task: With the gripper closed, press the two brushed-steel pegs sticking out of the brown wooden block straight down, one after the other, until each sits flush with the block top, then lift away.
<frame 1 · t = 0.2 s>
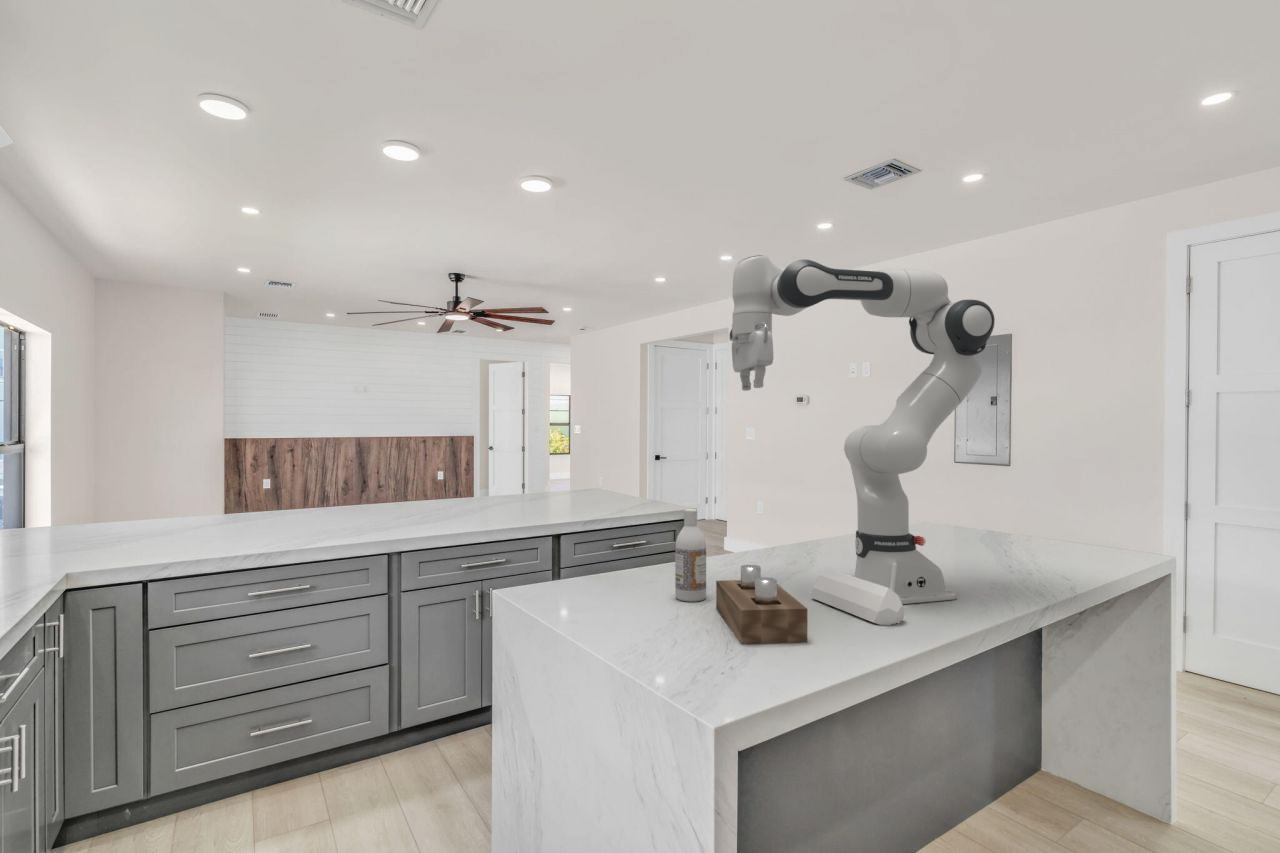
hand: (752, 389, 143), 47 cm above the table, tool pointing down, fingers open, 8 cm apart
crystal: (854, 611, 133), on the table
brown wooden block: (758, 624, 123), on the table
peg a: (750, 580, 129), point 7 cm above the table, slide at 4.0 cm
peg b: (765, 594, 118), point 7 cm above the table, slide at 4.0 cm
bath foam: (690, 599, 142), on the table
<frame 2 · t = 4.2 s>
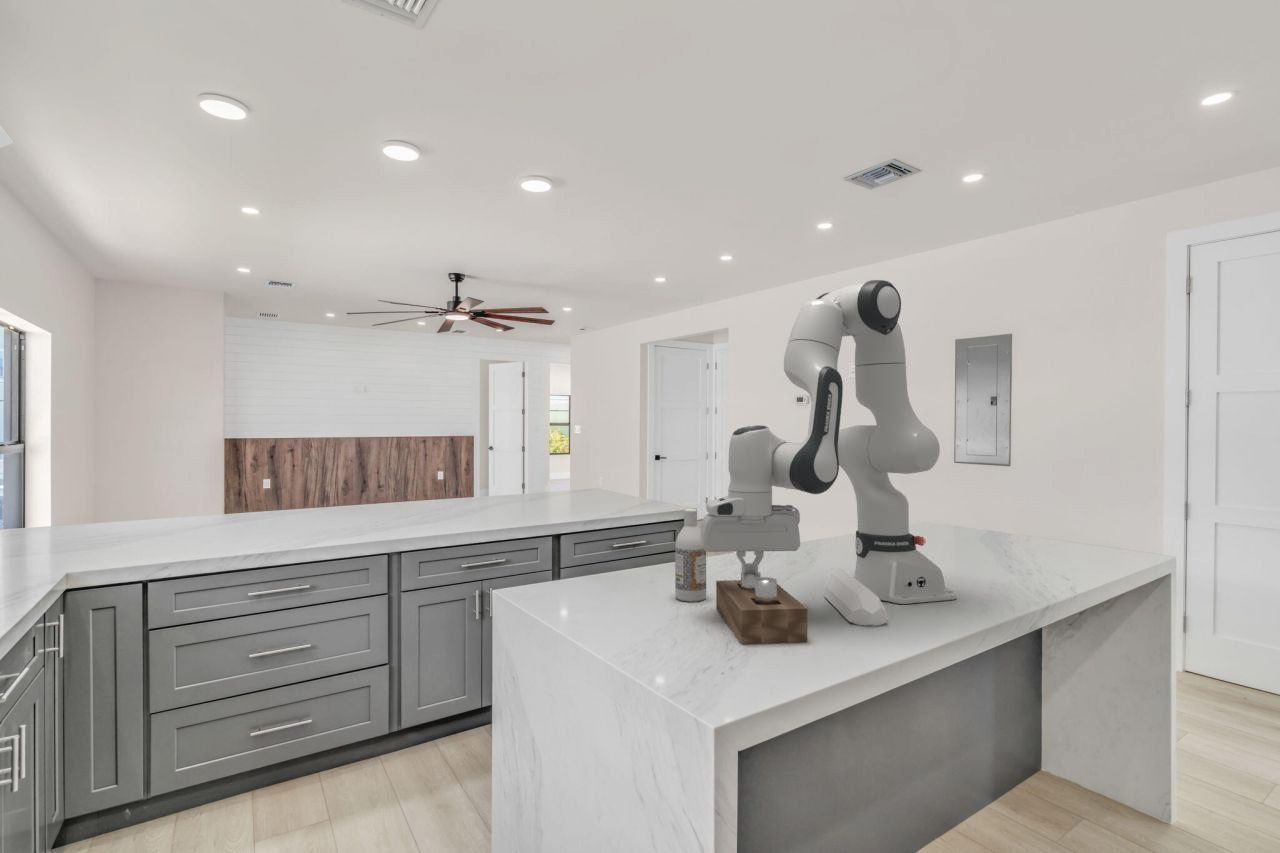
hand: (749, 573, 129), 9 cm above the table, tool pointing down, fingers closed, pressing on peg a
peg a: (750, 587, 129), point 6 cm above the table, slide at 2.7 cm, touching gripper
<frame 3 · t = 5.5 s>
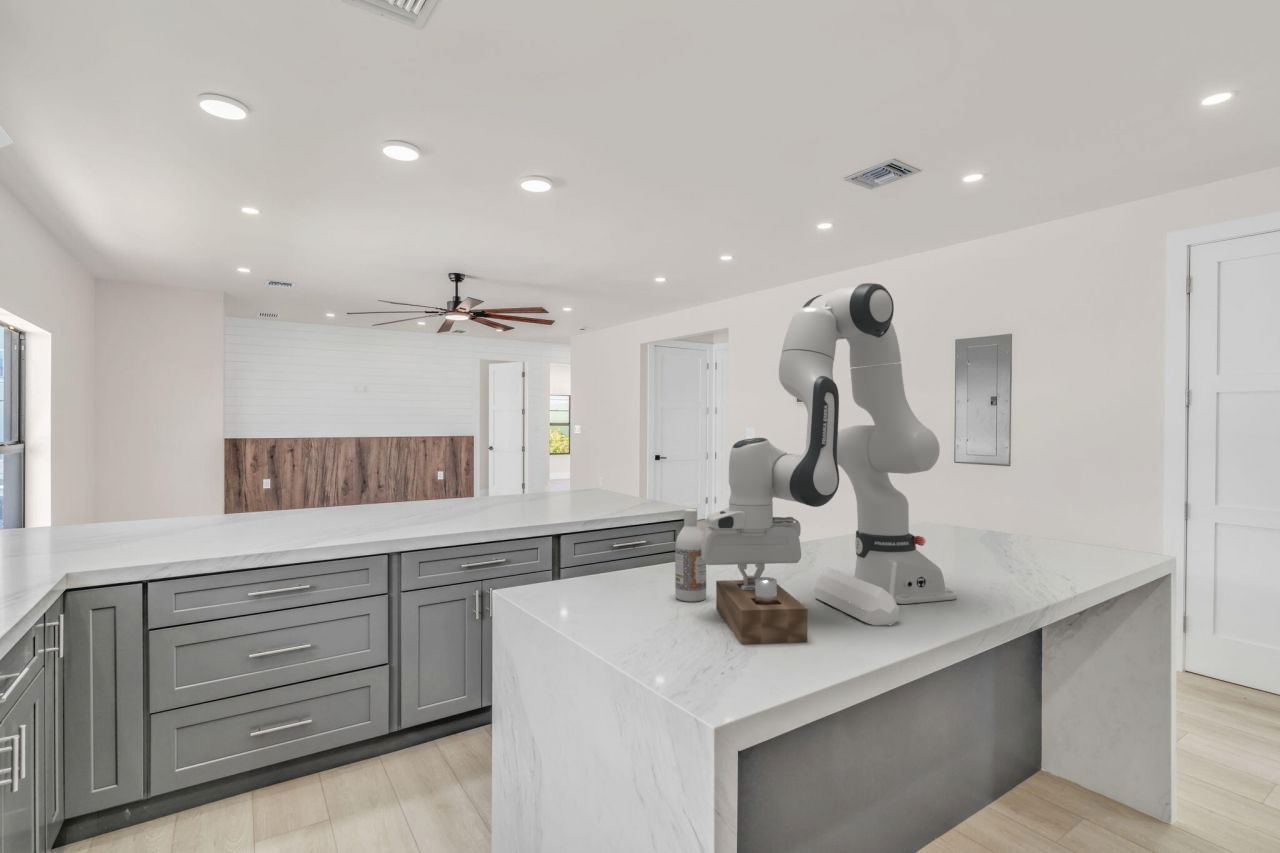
hand: (751, 585, 129), 6 cm above the table, tool pointing down, fingers closed
peg a: (750, 600, 129), point 3 cm above the table, slide at -0.1 cm
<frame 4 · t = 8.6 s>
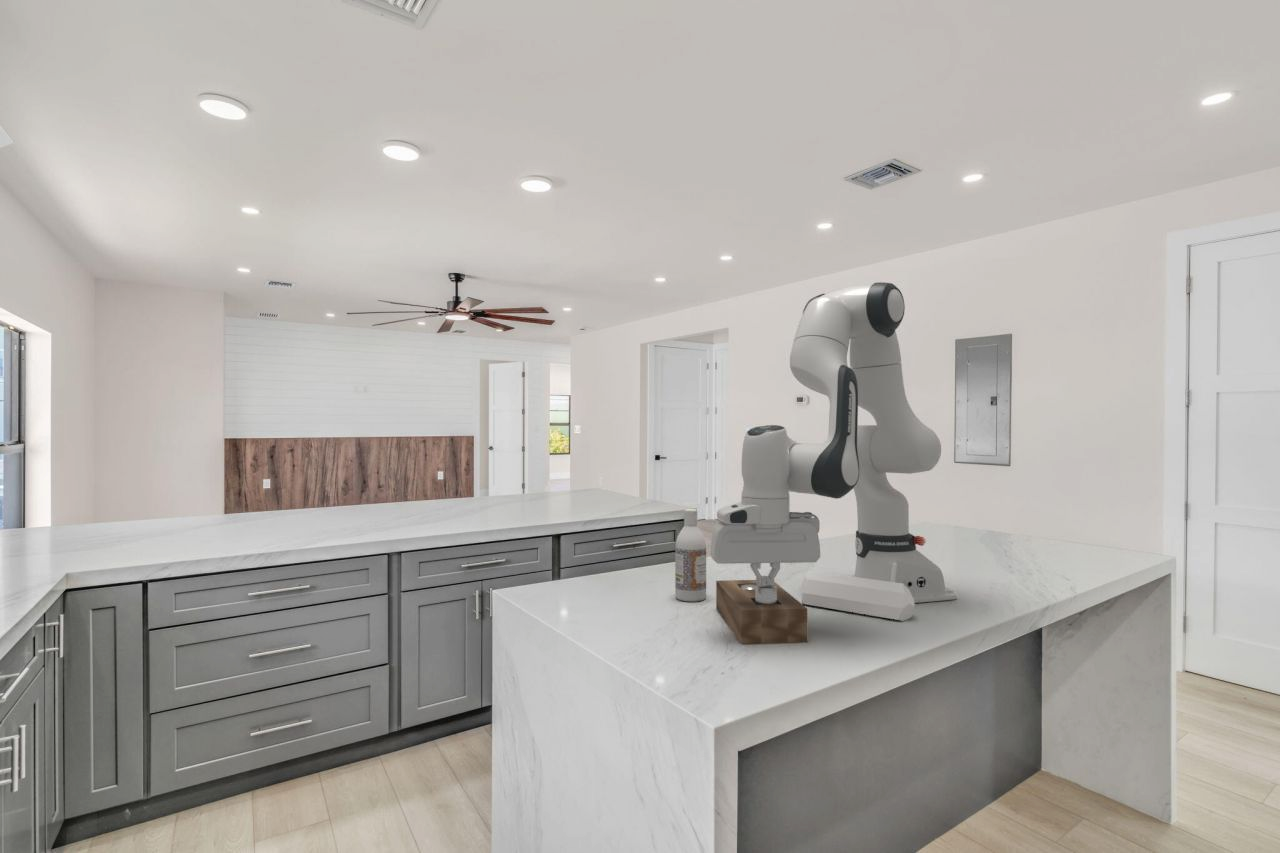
hand: (765, 586, 118), 9 cm above the table, tool pointing down, fingers closed, pressing on peg b
peg b: (765, 601, 118), point 6 cm above the table, slide at 2.7 cm, touching gripper
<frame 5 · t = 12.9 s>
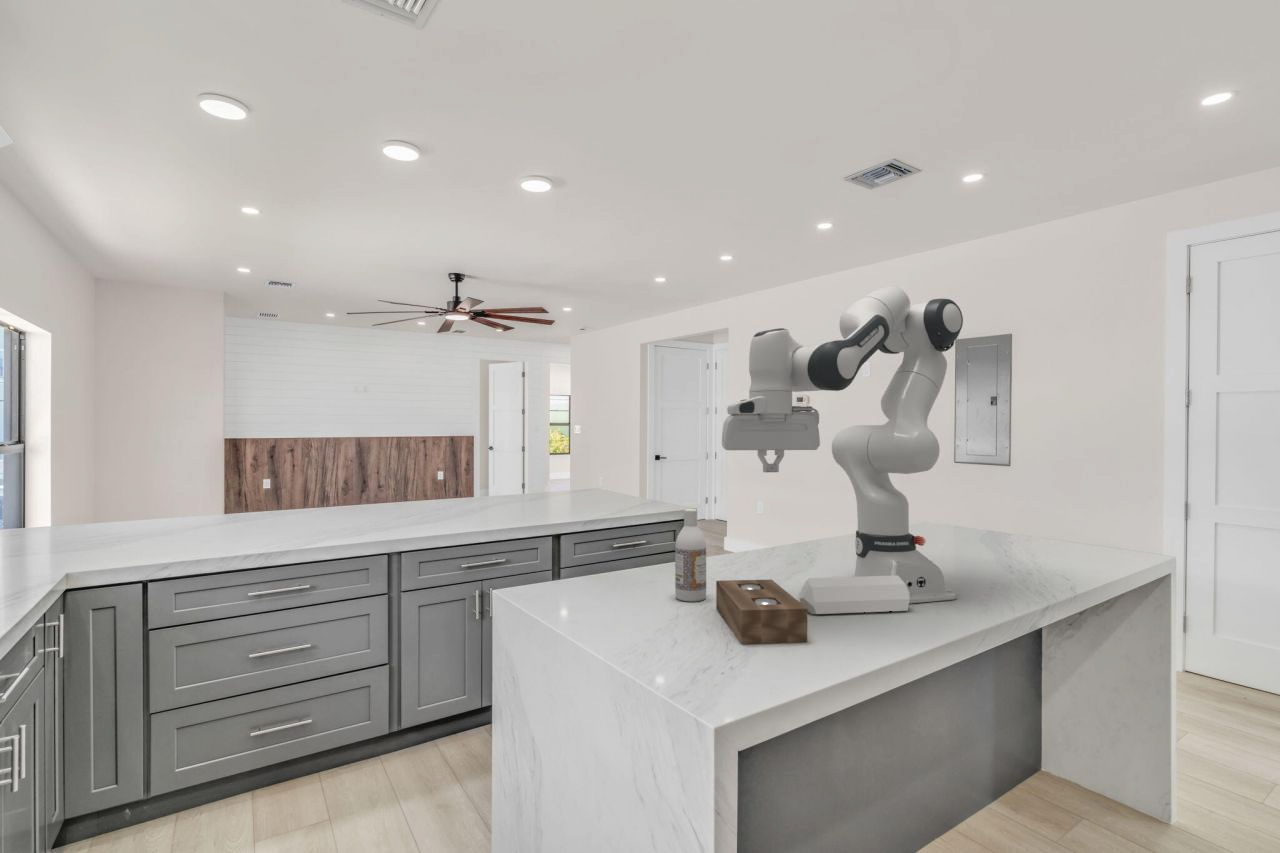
hand: (770, 472, 132), 29 cm above the table, tool pointing down, fingers closed
peg b: (765, 616, 118), point 3 cm above the table, slide at -0.1 cm
at the end: peg a slide at -0.1 cm; peg b slide at -0.1 cm; bath foam moved 0.2 cm from its start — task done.
